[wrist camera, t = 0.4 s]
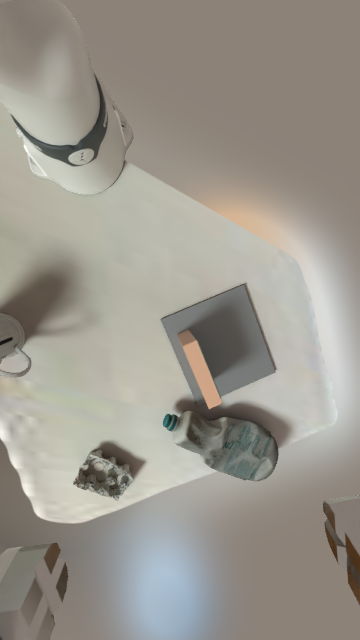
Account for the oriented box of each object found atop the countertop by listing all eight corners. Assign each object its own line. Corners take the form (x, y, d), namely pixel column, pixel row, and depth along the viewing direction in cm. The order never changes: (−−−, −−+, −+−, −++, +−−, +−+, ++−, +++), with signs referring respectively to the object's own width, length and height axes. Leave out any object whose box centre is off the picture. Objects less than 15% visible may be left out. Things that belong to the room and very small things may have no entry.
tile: (176, 334, 53) (182, 346, 43) (189, 329, 53) (197, 339, 43) (198, 386, 55) (209, 409, 45) (210, 381, 55) (223, 402, 45)
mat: (160, 319, 53) (160, 319, 52) (242, 284, 54) (243, 284, 53) (197, 405, 56) (197, 406, 56) (274, 371, 57) (275, 372, 57)
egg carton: (75, 470, 56) (69, 484, 52) (95, 443, 55) (91, 455, 51) (116, 493, 57) (114, 509, 53) (136, 467, 57) (135, 481, 53)
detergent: (278, 428, 59) (180, 381, 55) (294, 451, 52) (184, 399, 48) (247, 473, 61) (150, 432, 57) (259, 501, 54) (150, 456, 50)
